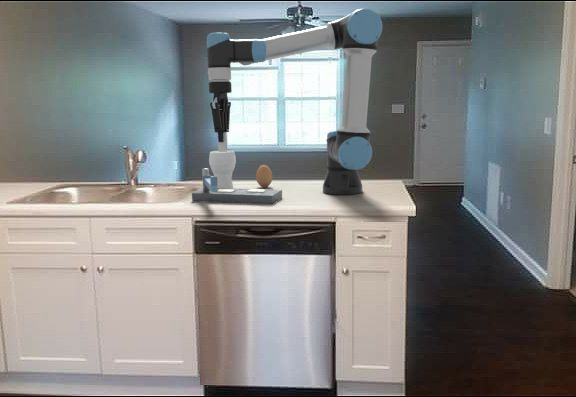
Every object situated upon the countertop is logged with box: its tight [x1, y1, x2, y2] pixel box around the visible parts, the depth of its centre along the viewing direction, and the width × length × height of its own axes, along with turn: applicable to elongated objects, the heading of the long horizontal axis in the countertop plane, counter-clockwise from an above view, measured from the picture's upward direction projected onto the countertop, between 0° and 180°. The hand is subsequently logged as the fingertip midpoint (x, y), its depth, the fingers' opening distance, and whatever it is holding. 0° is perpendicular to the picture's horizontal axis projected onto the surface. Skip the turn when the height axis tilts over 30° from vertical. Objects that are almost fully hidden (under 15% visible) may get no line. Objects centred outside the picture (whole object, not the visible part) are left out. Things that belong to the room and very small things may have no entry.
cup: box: [208, 150, 237, 188], centre depth 225 cm, size 11×11×15 cm
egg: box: [255, 164, 273, 188], centre depth 228 cm, size 7×7×9 cm
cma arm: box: [202, 174, 218, 192], centre depth 193 cm, size 20×3×6 cm, turn 16°
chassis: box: [191, 167, 283, 205], centre depth 202 cm, size 30×12×11 cm, turn 74°
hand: (222, 151), depth 192 cm, fingers closed
